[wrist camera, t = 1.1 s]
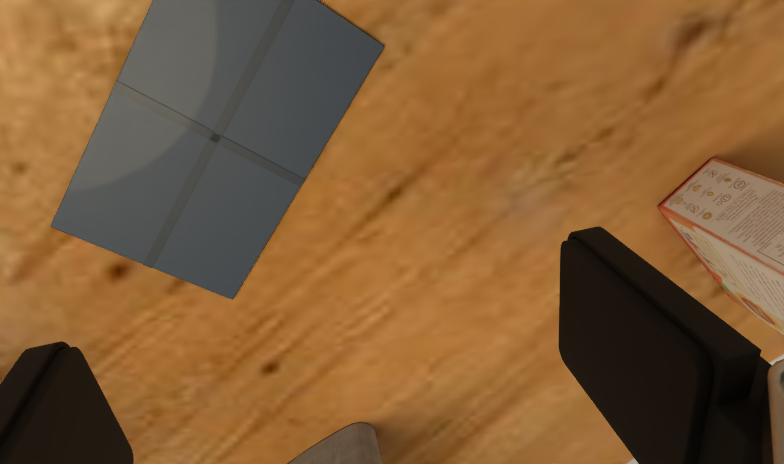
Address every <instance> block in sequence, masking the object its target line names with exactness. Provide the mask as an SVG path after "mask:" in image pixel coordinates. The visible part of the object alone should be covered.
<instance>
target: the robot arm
mask: <svg viewBox="0 0 784 464" xmlns="http://www.w3.org/2000/svg"><path fill="white" fill-rule="evenodd" d="M559 351H560V354H561V357H562V360H563V362H564V363H565V365H566V366H567V367H568V369H569V370H570V371H571V373H572V374H573V375H574V377H575V378H576V380H577V381H578V382H579V384H580V385H581V386H582V388H583V389H584V390H585V392H586V393H587V394H588V396H589V397H590V398H591V400H592V401H593V403H594V404H595V405H596V407H597V408H598V409H599V411H600V412H601V413H602V415H603V416H604V417H605V419H606V420H607V421H608V423H609V424H610V425H611V427H612V428H613V430H614V431H615V432H616V434H617V435H618V436H619V438H620V439H621V440H622V442H623V443H624V444H625V446H626V447H627V448H628V450H629V451H630V453H631V454H632V455H633V457H634V458H635V459H636V461H637V462H638V463H639V464H784V359H783V360H780V361H777V362H776V363H775V364H774V365H771V364H769V363H768V362H767V361H766V360H764V359H763V358H762V357H760V353H761V349H759V348H758V347H757V346H755V345H754V344H753V343H751V342H750V341H749V340H748V339H746V338H745V337H744V336H742V335H741V334H740V333H738V332H737V331H736V330H735V329H733V328H732V327H731V326H729V325H728V324H727V323H726V322H724V321H723V320H722V319H720V318H719V317H718V316H716V315H715V314H714V313H713V312H711V311H710V310H709V309H707V308H706V307H705V306H703V305H702V304H701V303H700V302H698V301H697V300H696V299H694V298H693V297H692V296H690V295H689V294H688V293H687V292H685V291H684V290H683V289H681V288H680V287H679V286H677V285H676V284H675V283H674V282H672V281H671V280H670V279H668V278H667V277H666V276H664V275H663V274H662V273H661V272H659V271H658V270H657V269H655V268H654V267H653V266H651V265H650V264H649V263H648V262H646V261H645V260H644V259H642V258H641V257H640V256H638V255H637V254H636V253H635V252H633V251H632V250H631V249H629V248H628V247H627V246H625V245H624V244H623V243H622V242H620V241H619V240H618V239H616V238H615V237H614V236H612V235H611V234H610V233H609V232H607V231H606V230H605V229H603V228H601V227H593V228H588V229H584V230H579V231H574V232H571V233H570V234H569V236H568V240H566V241H563V242H562V244H561V258H560V306H559ZM133 461H134V460H133V452H132V449H131V446H130V445H129V443H128V441H127V439H126V437H125V435H124V433H123V431H122V429H121V427H120V425H119V423H118V421H117V419H116V417H115V416H114V414H113V412H112V410H111V408H110V406H109V404H108V402H107V400H106V398H105V396H104V394H103V392H102V390H101V388H100V387H99V385H98V383H97V381H96V379H95V377H94V375H93V373H92V371H91V369H90V367H89V365H88V363H87V361H86V359H85V358H84V356H83V354H82V352H81V351H80V349H78V348H77V347H71V348H70V346H69V345H68V344H67V343H65V342H57V343H52V344H47V345H43V346H38V347H33V348H29V349H26V350H25V351H24V352H23V353H22V354H21V356H20V357H19V359H18V360H17V361H16V363H15V364H14V366H13V367H12V369H11V370H10V372H9V373H8V374H7V376H6V377H5V379H4V380H3V382H2V383H1V384H0V464H133Z"/></svg>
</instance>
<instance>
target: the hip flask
mask: <svg viewBox="0 0 784 464" xmlns="http://www.w3.org/2000/svg"><path fill="white" fill-rule="evenodd" d="M288 464H382V462H381V457H380V453H379V448H378V443H377V439H376V434H375V430H374V429H373V427H372V426H370V425H368V424H365V423H355V424H352V425H349V426H347V427H346V428H344V429H342V430H340V431H338V432H336V433H334V434H333V435H331V436H329V437H327V438H326V439H324V440H322V441H321V442H319V443H318V444H316V445H314V446H313V447H311V448H310V449H308V450H307V451H305V452H304V453H302V454H301V455H299V456H298V457H297V458H295V459H294V460H292V461H291V462H290V463H288Z"/></svg>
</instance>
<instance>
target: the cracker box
mask: <svg viewBox="0 0 784 464" xmlns="http://www.w3.org/2000/svg"><path fill="white" fill-rule="evenodd" d="M658 209H659V210H660V211H661V213H662V214H663V215H664V216H665V218H666V219H667V220H668V221H669V223H670V224H671V225H672V226H673V228H674V229H675V230H676V231H677V233H678V234H679V235H680V236H681V238H682V239H683V240H684V241H685V242H686V244H687V245H688V246H689V247H690V248H691V250H692V251H693V252H694V253H695V255H696V256H697V257H698V258H699V260H700V261H701V262H702V263H703V265H704V266H705V267H706V268H707V270H708V271H709V272H710V273H711V274H712V276H713V277H714V278H715V279H716V281H717V282H718V283H719V284H720V286H721V287H722V288H723V289H724V290H725V292H726V293H727V294H728V296H729V297H730V298H731V299H732V300H733V301H735V302H736V303H738V304H739V305H740V306H742V307H743V308H745V309H746V310H748V311H749V312H751V313H752V314H754V315H755V316H757V317H758V318H760V319H761V320H762V321H764V322H765V323H767V324H768V325H770V326H771V327H773V328H774V329H776V330H777V331H779V332H780V333H782V334H783V335H784V184H783V183H780V182H777V181H775V180H772V179H769V178H767V177H764V176H761V175H759V174H756V173H754V172H751V171H748V170H745V169H742V168H740V167H738V166H735V165H732V164H730V163H727V162H725V161H722V160H719V159H716V158H712V159H711V160H709V161H708V162H707V163H706V164H705V165H704V166H703V167H702V168H701V169H700V170H699V171H698V172H696V173H695V174H694V175H693V176H692V177H691V178H690V179H689V180H687V181H686V182H685V183H684V184H683V185H682V186H681V187H680V188H679V189H677V190H676V191H675V192H674V193H673V194H672V195H671V196H670V197H669V198H668V199H666V200H665V201H664V202H663V203H662V204H661V205H660V206H659V207H658Z"/></svg>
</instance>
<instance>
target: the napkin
mask: <svg viewBox="0 0 784 464" xmlns="http://www.w3.org/2000/svg"><path fill="white" fill-rule="evenodd" d="M383 47H384V46H383V45H382V44H380V43H379V42H378V41H376V40H375V39H373V38H372V37H370V36H369V35H367V34H366V33H364V32H363V31H361V30H360V29H358V28H357V27H356V26H354V25H353V24H351V23H350V22H348V21H347V20H345V19H344V18H342V17H341V16H339V15H338V14H336V13H335V12H333V11H332V10H331V9H329V8H328V7H326V6H325V5H323V4H322V3H320V2H319V1H317V0H153V1H152V4H151V6H150V8H149V10H148V13H147V15H146V17H145V19H144V21H143V24H142V26H141V28H140V30H139V32H138V35H137V37H136V39H135V41H134V43H133V46H132V48H131V50H130V52H129V54H128V57H127V59H126V61H125V63H124V65H123V68H122V70H121V72H120V74H119V76H118V79H117V80H116V82H115V85H114V87H113V89H112V92H111V94H110V96H109V98H108V101H107V103H106V105H105V107H104V109H103V112H102V114H101V116H100V118H99V121H98V123H97V125H96V127H95V129H94V132H93V134H92V136H91V138H90V140H89V143H88V145H87V147H86V149H85V151H84V154H83V156H82V158H81V160H80V162H79V165H78V167H77V169H76V171H75V173H74V176H73V178H72V180H71V182H70V184H69V187H68V189H67V191H66V193H65V195H64V198H63V200H62V202H61V204H60V206H59V209H58V211H57V213H56V215H55V217H54V220H53V222H52V224H51V227H52V228H55V229H57V230H60V231H62V232H65V233H67V234H70V235H72V236H75V237H77V238H80V239H82V240H85V241H87V242H90V243H92V244H95V245H97V246H100V247H102V248H105V249H107V250H110V251H112V252H115V253H117V254H120V255H122V256H125V257H127V258H130V259H132V260H135V261H137V262H140V263H142V264H143V265H146V266H148V267H151V268H155V269H157V270H160V271H162V272H165V273H167V274H170V275H172V276H175V277H177V278H180V279H182V280H185V281H187V282H190V283H192V284H195V285H197V286H200V287H202V288H205V289H207V290H210V291H212V292H215V293H217V294H220V295H222V296H225V297H227V298H230V299H232V300H233V298H234V297H235V295H236V293H237V292H238V290H239V288H240V287H241V285H242V283H243V282H244V280H245V278H246V277H247V275H248V273H249V272H250V270H251V268H252V267H253V265H254V263H255V261H256V260H257V258H258V256H259V255H260V253H261V251H262V250H263V248H264V246H265V245H266V243H267V241H268V240H269V238H270V236H271V235H272V233H273V231H274V230H275V228H276V226H277V225H278V223H279V221H280V220H281V218H282V216H283V215H284V213H285V211H286V210H287V208H288V206H289V205H290V203H291V201H292V200H293V198H294V196H295V195H296V193H297V191H298V190H299V188H300V187H301V185H302V183H303V182H304V180H305V178H306V176H307V175H308V173H309V171H310V170H311V168H312V166H313V165H314V163H315V161H316V160H317V158H318V156H319V154H320V153H321V151H322V149H323V148H324V146H325V144H326V143H327V141H328V139H329V138H330V136H331V134H332V133H333V131H334V129H335V128H336V126H337V124H338V123H339V121H340V119H341V118H342V116H343V114H344V113H345V111H346V109H347V108H348V106H349V104H350V103H351V101H352V99H353V98H354V96H355V94H356V93H357V91H358V89H359V88H360V86H361V84H362V83H363V81H364V79H365V78H366V76H367V74H368V73H369V71H370V69H371V68H372V66H373V64H374V63H375V61H376V59H377V58H378V56H379V54H380V53H381V51H382V49H383Z"/></svg>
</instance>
